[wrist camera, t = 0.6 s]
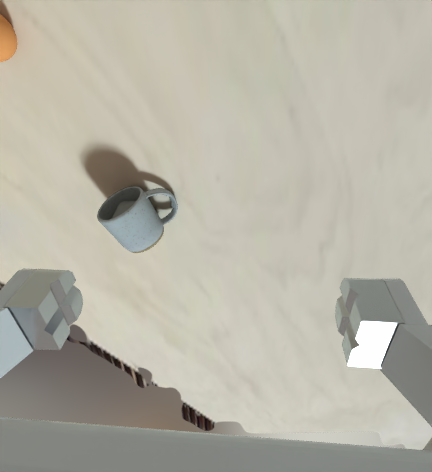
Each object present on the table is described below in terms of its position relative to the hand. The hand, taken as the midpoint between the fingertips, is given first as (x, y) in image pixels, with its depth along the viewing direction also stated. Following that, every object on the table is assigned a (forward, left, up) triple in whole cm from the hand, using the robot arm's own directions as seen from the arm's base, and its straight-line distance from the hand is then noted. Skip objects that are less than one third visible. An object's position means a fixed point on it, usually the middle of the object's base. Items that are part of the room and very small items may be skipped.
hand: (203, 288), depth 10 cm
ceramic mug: (+22, -14, -35) cm, 44 cm away
